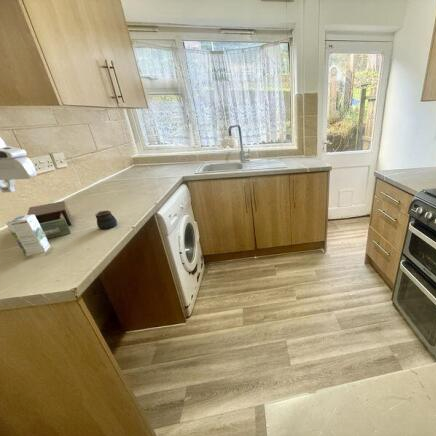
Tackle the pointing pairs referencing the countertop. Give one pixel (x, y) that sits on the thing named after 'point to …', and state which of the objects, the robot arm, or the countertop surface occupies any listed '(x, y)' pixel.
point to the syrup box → (28, 234)
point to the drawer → (54, 225)
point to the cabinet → (51, 210)
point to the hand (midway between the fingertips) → (9, 191)
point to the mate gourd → (105, 220)
